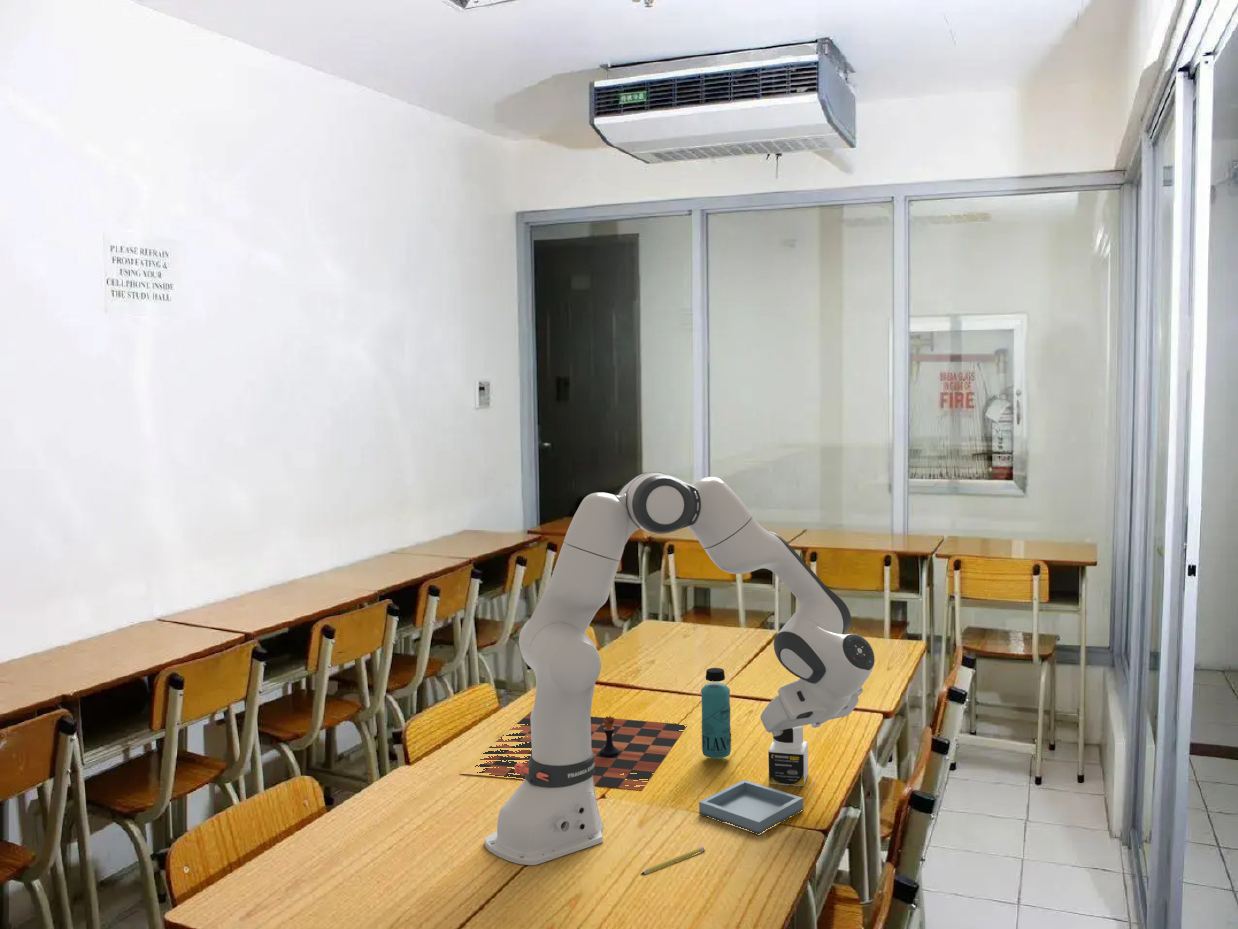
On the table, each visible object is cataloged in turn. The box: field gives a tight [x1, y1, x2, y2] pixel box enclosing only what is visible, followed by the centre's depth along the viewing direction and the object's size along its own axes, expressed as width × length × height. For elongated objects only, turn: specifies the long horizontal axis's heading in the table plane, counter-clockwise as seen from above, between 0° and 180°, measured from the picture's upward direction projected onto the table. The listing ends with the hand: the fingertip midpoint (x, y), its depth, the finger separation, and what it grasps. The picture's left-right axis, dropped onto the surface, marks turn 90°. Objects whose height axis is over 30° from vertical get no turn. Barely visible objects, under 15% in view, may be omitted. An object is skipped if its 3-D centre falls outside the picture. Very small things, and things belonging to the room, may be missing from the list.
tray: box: [698, 779, 804, 834], centre depth 199 cm, size 14×14×2 cm
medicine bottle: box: [767, 725, 809, 787], centre depth 214 cm, size 7×7×12 cm
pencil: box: [640, 846, 706, 875], centre depth 180 cm, size 1×14×1 cm, turn 127°
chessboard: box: [475, 710, 688, 792], centre depth 236 cm, size 40×40×11 cm
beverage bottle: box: [700, 667, 732, 759], centre depth 226 cm, size 6×7×20 cm
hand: (794, 728), depth 212 cm, fingers open, 8 cm apart
